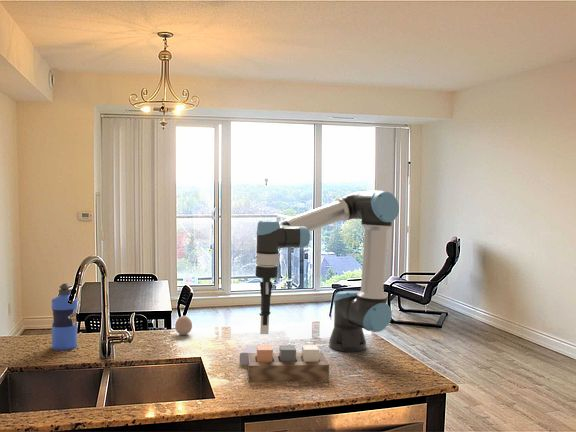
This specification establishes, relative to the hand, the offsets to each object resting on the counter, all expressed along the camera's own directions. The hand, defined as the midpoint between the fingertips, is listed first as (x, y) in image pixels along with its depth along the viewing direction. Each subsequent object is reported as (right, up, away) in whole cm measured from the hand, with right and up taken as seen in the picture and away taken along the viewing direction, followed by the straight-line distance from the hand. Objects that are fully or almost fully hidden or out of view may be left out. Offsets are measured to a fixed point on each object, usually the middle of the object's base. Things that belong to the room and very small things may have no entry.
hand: (264, 333), depth 178 cm
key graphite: (+8, -11, +2) cm, 14 cm away
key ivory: (+16, -11, +3) cm, 20 cm away
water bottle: (-80, -11, +25) cm, 84 cm away
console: (+8, -15, +2) cm, 17 cm away
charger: (-4, -14, +17) cm, 23 cm away
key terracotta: (0, -11, +1) cm, 11 cm away
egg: (-37, -11, +46) cm, 60 cm away
